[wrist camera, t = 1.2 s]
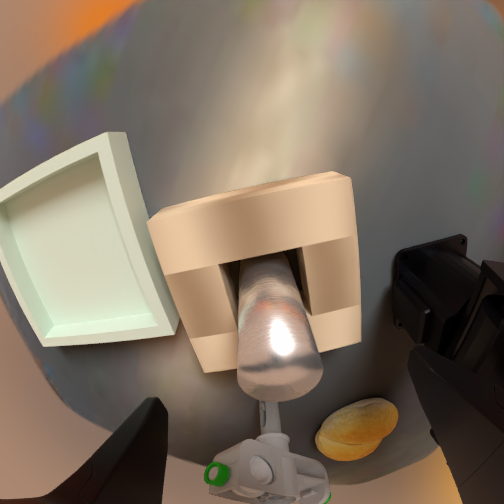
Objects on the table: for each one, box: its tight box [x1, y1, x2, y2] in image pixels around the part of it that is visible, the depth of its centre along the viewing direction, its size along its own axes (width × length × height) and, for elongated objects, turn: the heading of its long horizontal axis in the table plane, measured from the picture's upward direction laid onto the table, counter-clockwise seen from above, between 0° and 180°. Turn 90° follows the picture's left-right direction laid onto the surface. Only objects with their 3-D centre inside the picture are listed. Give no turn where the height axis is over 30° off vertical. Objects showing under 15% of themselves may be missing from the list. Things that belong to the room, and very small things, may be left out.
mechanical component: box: [204, 400, 331, 504], centre depth 17 cm, size 3×10×10 cm, turn 49°
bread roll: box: [315, 398, 398, 461], centre depth 23 cm, size 8×9×4 cm
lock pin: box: [237, 251, 323, 402], centre depth 13 cm, size 3×3×9 cm
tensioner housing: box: [146, 171, 361, 373], centre depth 16 cm, size 10×10×3 cm
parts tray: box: [0, 132, 180, 347], centre depth 16 cm, size 12×12×2 cm
